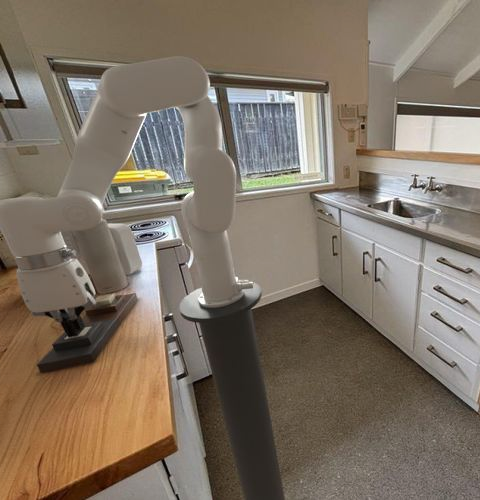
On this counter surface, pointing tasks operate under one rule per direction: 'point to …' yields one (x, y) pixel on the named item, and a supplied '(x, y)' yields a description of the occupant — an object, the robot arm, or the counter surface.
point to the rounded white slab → (122, 244)
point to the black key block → (78, 347)
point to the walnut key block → (111, 310)
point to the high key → (81, 333)
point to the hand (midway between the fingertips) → (76, 332)
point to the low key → (105, 300)
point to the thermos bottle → (102, 258)
